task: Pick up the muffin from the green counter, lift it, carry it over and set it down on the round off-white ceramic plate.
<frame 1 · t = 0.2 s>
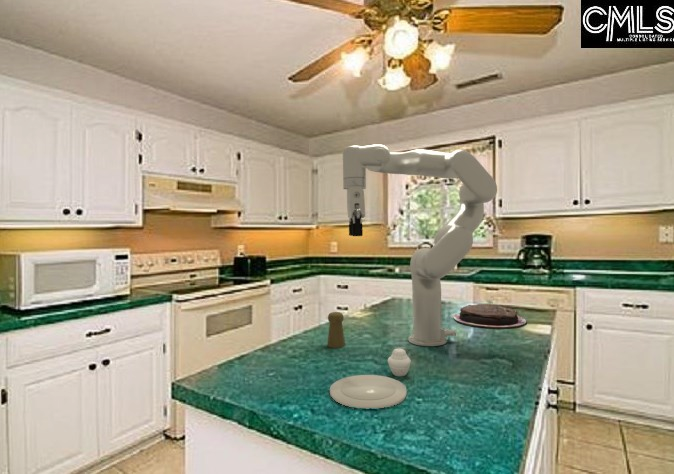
hand: (355, 235, 135), 36 cm above the countertop, tool pointing down, fingers open, 9 cm apart
plate: (367, 392, 96), on the countertop
cork: (336, 345, 136), on the countertop
muffin: (399, 375, 108), on the countertop
chocolate cake: (488, 322, 166), on the countertop
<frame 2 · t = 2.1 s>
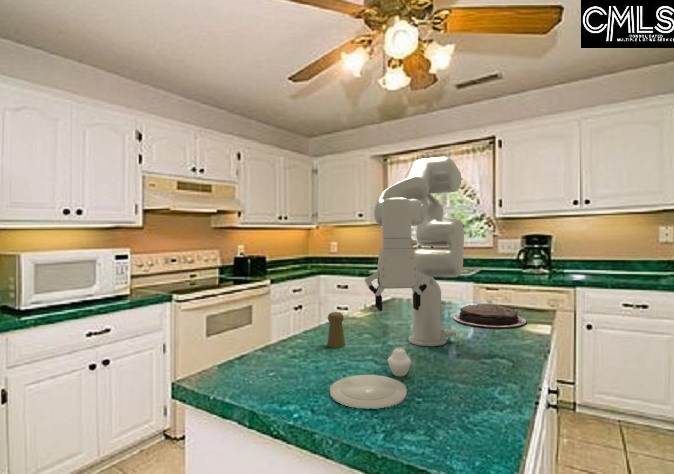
hand: (398, 309, 107), 17 cm above the countertop, tool pointing down, fingers open, 9 cm apart
nothing on the countertop moved.
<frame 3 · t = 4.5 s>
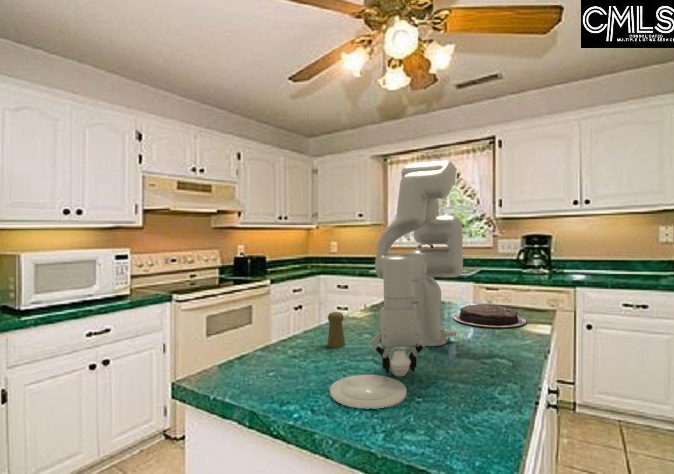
hand: (399, 370, 108), 1 cm above the countertop, tool pointing down, fingers closed on muffin, 6 cm apart
muffin: (399, 375, 108), on the countertop, touching gripper
everything else where it was.
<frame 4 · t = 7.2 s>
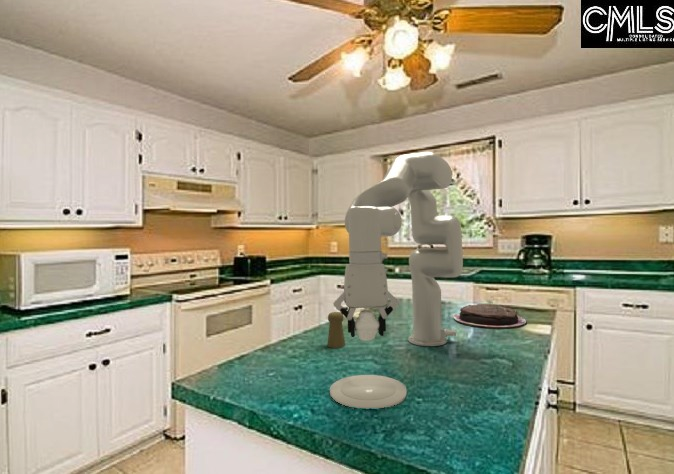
hand: (366, 334, 96), 14 cm above the countertop, tool pointing down, fingers closed on muffin, 6 cm apart
muffin: (366, 339, 96), point 13 cm above the countertop, touching gripper
everything else where it was.
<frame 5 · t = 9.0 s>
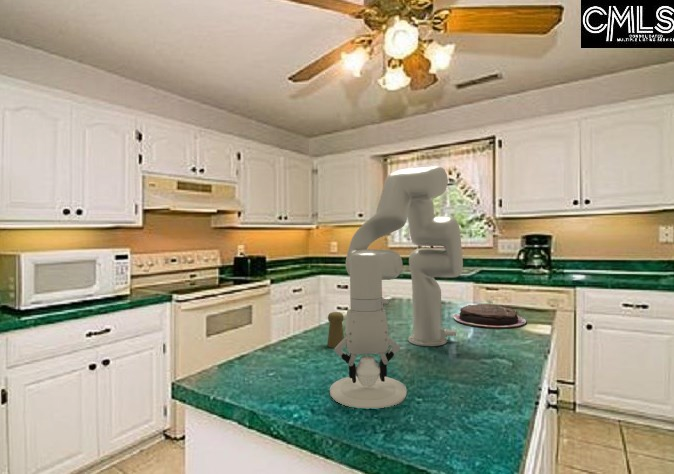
hand: (367, 379, 96), 3 cm above the countertop, tool pointing down, fingers closed on muffin, 6 cm apart
muffin: (368, 385, 96), point 2 cm above the countertop, touching gripper
everything else where it was.
when the fingers open (3 cm above the countertop, at t = 9.9 s): muffin stays where it is, resting on plate.
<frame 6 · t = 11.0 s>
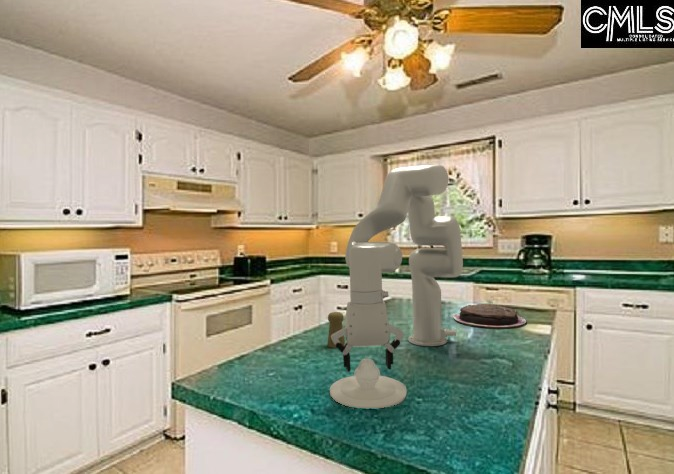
hand: (368, 368, 97), 6 cm above the countertop, tool pointing down, fingers open, 9 cm apart
muffin: (367, 388, 96), point 1 cm above the countertop, touching plate
everything else where it was.
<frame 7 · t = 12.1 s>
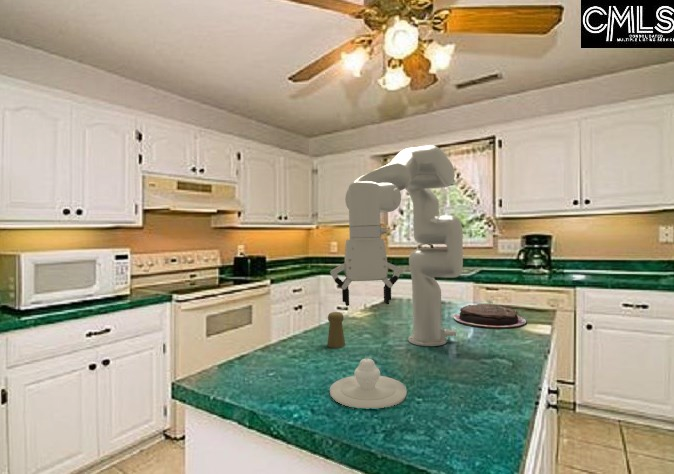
hand: (366, 304, 98), 21 cm above the countertop, tool pointing down, fingers open, 9 cm apart
nothing on the countertop moved.
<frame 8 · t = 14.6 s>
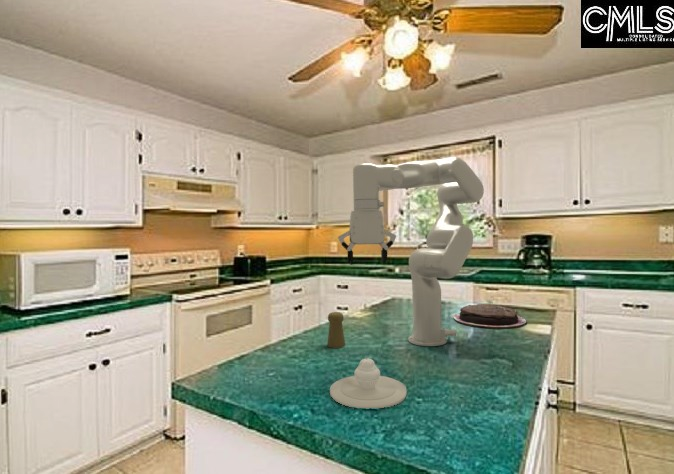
hand: (367, 263, 121), 28 cm above the countertop, tool pointing down, fingers open, 9 cm apart
nothing on the countertop moved.
at the end: muffin inside the target area on the plate (0.2 cm from its centre), point 1.0 cm above the plate's base; muffin tilted 0°; the gripper is holding nothing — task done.
